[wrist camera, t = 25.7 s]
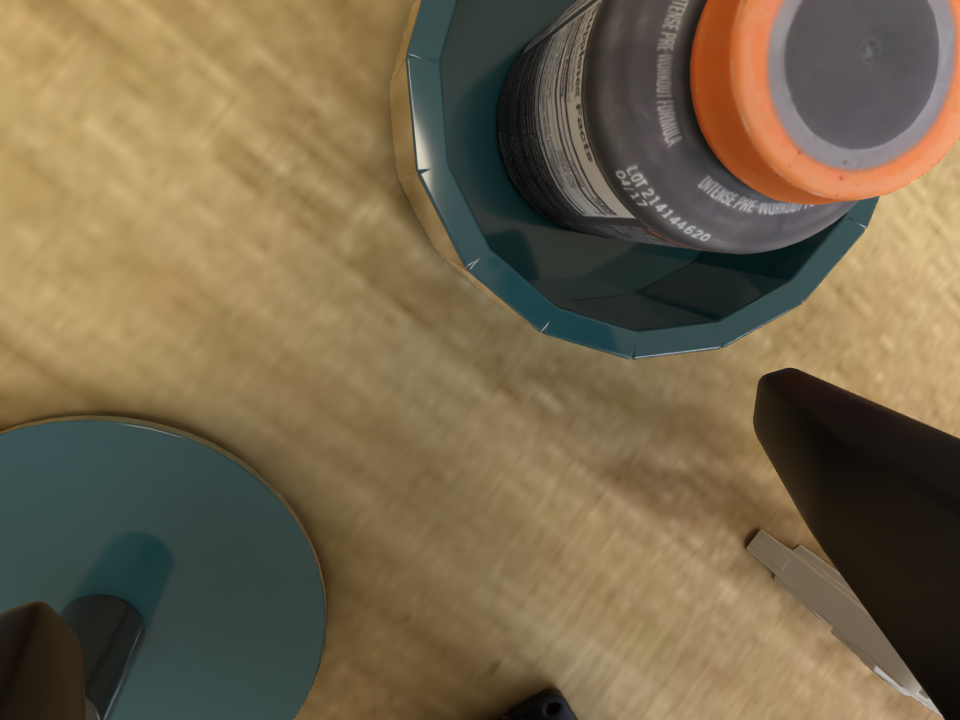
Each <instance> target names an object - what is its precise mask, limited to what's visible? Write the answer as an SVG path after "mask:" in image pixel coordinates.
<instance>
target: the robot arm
mask: <svg viewBox="0 0 960 720" xmlns="http://www.w3.org/2000/svg"><path fill="white" fill-rule="evenodd" d="M753 425H754V430H755V433H756V436H757V438H758V440H759V441H760V443H761V445H762V447H763V449H764V450H765V452H766V454H767V456H768V457H769V459H770V461H771V463H772V465H773V466H774V468H775V470H776V472H777V473H778V475H779V477H780V479H781V481H782V482H783V484H784V486H785V488H786V489H787V491H788V493H789V495H790V497H791V498H792V500H793V502H794V504H795V505H796V507H797V509H798V511H799V513H800V514H801V516H802V518H803V520H804V521H805V523H806V525H807V526H808V528H809V530H810V531H811V533H812V534H813V536H814V537H815V539H816V540H817V542H818V543H819V545H820V546H821V548H822V549H823V551H824V552H825V553H826V555H827V556H828V558H829V559H830V560H831V562H832V563H833V565H834V566H835V567H836V569H837V570H838V571H839V573H840V574H841V576H842V577H843V578H844V580H845V581H846V583H847V584H848V585H849V587H850V588H851V590H852V591H853V592H854V594H855V595H856V597H857V598H858V599H859V601H860V602H861V604H862V605H863V606H864V608H865V609H866V611H867V612H868V613H869V615H870V616H871V617H872V619H873V620H874V622H875V623H876V624H877V626H878V627H879V629H880V630H881V631H882V633H883V634H884V636H885V637H886V638H887V640H888V641H889V643H890V644H891V645H892V647H893V648H894V650H895V651H896V652H897V654H898V655H899V657H900V658H901V659H902V661H903V662H904V663H905V665H906V666H907V668H908V669H909V670H910V672H911V673H912V675H913V676H914V677H915V679H916V680H917V682H918V683H919V684H920V686H921V687H922V689H923V690H924V691H925V693H926V694H927V696H928V697H929V698H930V700H931V701H932V703H933V704H934V705H935V707H936V708H937V709H938V711H939V712H940V714H941V715H942V716H943V718H944V719H945V720H960V439H959V438H957V437H955V436H952V435H950V434H948V433H945V432H943V431H941V430H938V429H936V428H934V427H931V426H929V425H927V424H924V423H922V422H920V421H917V420H915V419H913V418H910V417H908V416H905V415H903V414H901V413H898V412H896V411H894V410H891V409H889V408H887V407H884V406H882V405H880V404H877V403H875V402H873V401H870V400H868V399H866V398H863V397H861V396H859V395H856V394H854V393H852V392H849V391H847V390H845V389H842V388H840V387H838V386H835V385H833V384H831V383H828V382H826V381H824V380H821V379H819V378H817V377H814V376H812V375H810V374H807V373H805V372H803V371H800V370H798V369H794V368H785V369H782V370H778V371H775V372H772V373H769V374H766V375H764V376H762V377H761V379H760V380H759V382H758V388H757V395H756V402H755V409H754V416H753ZM553 702H556V704H555V705H554V706H553V707H551V708H547V706H548V705H549V704H550V703H553ZM0 720H86V708H85V682H84V656H83V649H82V645H81V642H80V640H79V638H78V636H77V635H76V633H75V632H74V631H73V630H72V629H71V628H70V627H69V626H68V625H67V624H66V623H65V622H64V620H63V619H62V618H61V617H60V616H59V615H58V614H57V613H56V612H55V611H54V610H53V609H52V607H51V606H50V605H48V604H47V603H46V602H43V601H40V600H39V601H33V602H30V603H27V604H23V605H20V606H17V607H14V608H11V609H8V610H6V611H4V612H2V613H1V614H0ZM493 720H578V719H577V718H576V716H575V714H574V712H573V711H572V709H571V707H570V705H569V704H568V702H567V700H566V698H565V697H564V695H563V693H562V692H561V691H560V690H558V689H555V688H548V689H546V690H543V691H542V692H540V693H538V694H536V695H535V696H533V697H531V698H529V699H528V700H526V701H524V702H523V703H521V704H519V705H517V706H516V707H514V708H512V709H511V710H509V711H507V712H505V713H504V714H502V715H500V716H499V717H497V718H495V719H493Z"/></svg>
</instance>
